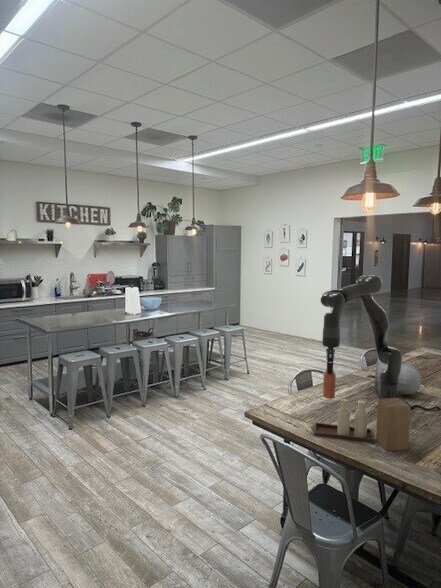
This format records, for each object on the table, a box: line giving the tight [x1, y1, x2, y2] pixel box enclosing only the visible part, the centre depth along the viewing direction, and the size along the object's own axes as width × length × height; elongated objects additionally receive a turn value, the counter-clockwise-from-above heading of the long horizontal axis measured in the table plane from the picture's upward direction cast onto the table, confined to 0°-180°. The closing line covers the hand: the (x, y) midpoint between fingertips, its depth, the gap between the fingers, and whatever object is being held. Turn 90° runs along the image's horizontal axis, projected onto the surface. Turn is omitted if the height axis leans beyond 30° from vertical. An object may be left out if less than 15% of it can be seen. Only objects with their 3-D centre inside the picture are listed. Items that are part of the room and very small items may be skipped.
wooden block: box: [375, 398, 412, 452], centre depth 171 cm, size 10×10×20 cm
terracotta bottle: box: [322, 362, 337, 400], centre depth 183 cm, size 5×5×16 cm
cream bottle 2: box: [353, 400, 369, 438], centre depth 179 cm, size 5×5×16 cm
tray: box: [313, 422, 375, 444], centre depth 182 cm, size 26×11×2 cm, turn 75°
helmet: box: [365, 360, 422, 396], centre depth 234 cm, size 19×18×30 cm
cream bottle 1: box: [336, 398, 351, 436], centre depth 181 cm, size 5×5×16 cm
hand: (329, 371), depth 182 cm, fingers closed on terracotta bottle, 4 cm apart
